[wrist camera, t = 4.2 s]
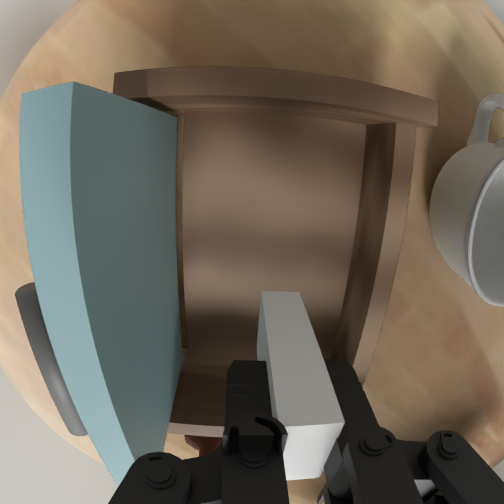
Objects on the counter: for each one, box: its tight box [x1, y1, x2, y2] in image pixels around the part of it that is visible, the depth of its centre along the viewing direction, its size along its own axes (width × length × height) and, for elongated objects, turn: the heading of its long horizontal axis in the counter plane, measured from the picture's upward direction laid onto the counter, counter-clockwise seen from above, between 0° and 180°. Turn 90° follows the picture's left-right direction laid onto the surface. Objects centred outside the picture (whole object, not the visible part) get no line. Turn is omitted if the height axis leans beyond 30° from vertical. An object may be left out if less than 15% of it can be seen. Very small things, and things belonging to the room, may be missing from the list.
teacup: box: [429, 93, 504, 306], centre depth 16 cm, size 14×11×8 cm
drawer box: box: [113, 66, 438, 437], centre depth 18 cm, size 20×14×8 cm
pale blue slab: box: [15, 82, 183, 487], centre depth 13 cm, size 17×3×12 cm, turn 177°
